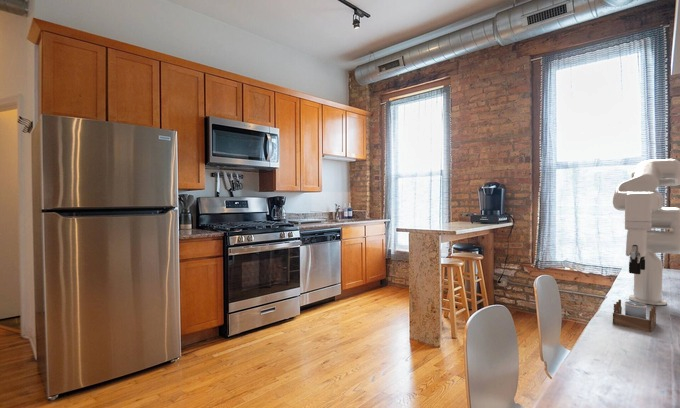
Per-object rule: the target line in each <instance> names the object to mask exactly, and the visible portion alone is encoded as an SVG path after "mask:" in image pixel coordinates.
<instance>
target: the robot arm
mask: <svg viewBox="0 0 680 408" xmlns="http://www.w3.org/2000/svg"><path fill="white" fill-rule="evenodd" d="M676 186H680V161H679V160H678V159H673V158H666V159H647V160H644V161H641V162H639V163H638V164H637V165H636V167H635V169H634V170H633V171H632V173H631V178H630V179H627V180H625V181H623V182H621V183H620V184H618V186H617V187H616V188H615V190H614V194H613V196H612V205H613V208H614V209H616V210H617V211H623V212H624V230H627V233H626V244H625V245H626V246H625V256H626V257H629V261H628V273H629V274H633V294H631V295H629V297H628V298H629V300H630V301H631V302H638V303H643V304H645V305H652V306H666V305H667V304H668V301H667V300H665V299H663V272H664V271H663V268H664V267H663V266H664V265H663V262H662V259H661V258H660V257H659V256H658V255H657V254H658V253H659V254H669V255H680V207H665V206H664V201H665V200H664V196H663V194H662V193H661V192H660V191H658V190H657V188H659V187H676ZM652 229H659V230H652ZM663 230H670V231H663Z"/></svg>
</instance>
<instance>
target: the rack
mask: <svg viewBox="0 0 680 408" xmlns="http://www.w3.org/2000/svg"><path fill="white" fill-rule="evenodd" d="M622 309H623V307H622V300H621V299H618V301H615V303H613V312H612V325H615V326H620V327H625V328H630V329H634V330H638V331H643V332H648V333H652V332H653V330H654V328H655V326H656V325H657V305H652V307H651V308H650V310H649V312H648V313H649V314H648V319H647V318H646V319H643V318H638V317H632V316H627V315H625V314H622V311H623V310H622Z"/></svg>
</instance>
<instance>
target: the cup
mask: <svg viewBox="0 0 680 408" xmlns="http://www.w3.org/2000/svg"><path fill="white" fill-rule="evenodd" d="M647 305H648V304H644V303H639V302H635V301H631V300H630V301H625V302H624V306H625V307H624V315H627V316H632V317H638V318H643V319H647Z"/></svg>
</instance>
